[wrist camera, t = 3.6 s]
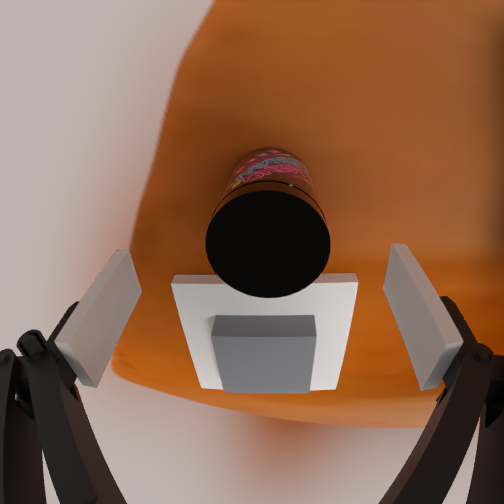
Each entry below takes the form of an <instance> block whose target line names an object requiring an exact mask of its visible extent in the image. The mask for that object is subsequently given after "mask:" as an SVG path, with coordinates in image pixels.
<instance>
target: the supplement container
mask: <svg viewBox="0 0 504 504" xmlns="http://www.w3.org/2000/svg"><path fill="white" fill-rule="evenodd" d="M206 252H207V257H208V260H209V262H210V264H211V266H212V268H213V270H214V271H215V273H216V274H217V275H218V276H219V277H220V279H221V280H223V281H224V282H225V283H226V284H227V285H229V286H230V287H232V288H233V289H235V290H237V291H239V292H241V293H244V294H246V295H249V296H254V297H259V298H279V297H285V296H289V295H292V294H294V293H297V292H299V291H301V290H303V289H305V288H306V287H308V286H309V285H310V284H312V283H313V282H314V281H315V280H316V279H317V278H318V277H319V275H320V274H321V273H322V271H323V270H324V268H325V266H326V264H327V261H328V258H329V254H330V236H329V232H328V228H327V224H326V220H325V217H324V214H323V212H322V210H321V208H320V204H319V201H318V198H317V195H316V192H315V189H314V186H313V183H312V180H311V177H310V174H309V171H308V169H307V168H306V166H305V165H304V163H303V162H302V161H301V160H300V159H299V158H298V157H296V156H295V155H293V154H292V153H290V152H288V151H285V150H282V149H277V148H264V149H259V150H256V151H254V152H251V153H250V154H248V155H247V156H245V157H244V158H243V159H242V160H241V161H240V162H239V163H238V164H237V166H236V167H235V169H234V171H233V173H232V175H231V178H230V180H229V182H228V184H227V187H226V189H225V191H224V193H223V196H222V198H221V200H220V203H219V204H218V206H217V207H216V209H215V211H214V214H213V216H212V220H211V222H210V224H209V227H208V230H207V234H206Z"/></svg>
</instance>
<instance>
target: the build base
mask: <svg viewBox="0 0 504 504" xmlns="http://www.w3.org/2000/svg"><path fill="white" fill-rule="evenodd" d="M171 286H172V290H173V294H174V298H175V302H176V305H177V309H178V313H179V316H180V320H181V323H182V327H183V330H184V334H185V337H186V340H187V344H188V347H189V350H190V354H191V357H192V360H193V363H194V366H195V369H196V373H197V376H198V379H199V382H200V385H201V388H208V389H223V391H224V392H230V393H259V394H296V393H309V391H310V390H330V389H336V386H337V382H338V378H339V374H340V370H341V366H342V362H343V357H344V353H345V349H346V344H347V340H348V335H349V330H350V325H351V320H352V315H353V310H354V305H355V299H356V293H357V288H358V279H357V276H356V273H328V274H320V275H319V277H318V278H317V279H316V280H315V281H314V282H313V283H312V284H310V285H309V286H308V287H306V288H305V289H303V290H301V291H299V292H297V293H294V294H292V295H289V296H285V297H279V298H259V297H254V296H249V295H246V294H244V293H241V292H239V291H237V290H235V289H233V288H232V287H230V286H229V285H227V284H226V283H225V282H224V281H223V280H221V279H220V277H219V276H218V275H174V278H173V280H172V282H171Z"/></svg>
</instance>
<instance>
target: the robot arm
mask: <svg viewBox="0 0 504 504" xmlns="http://www.w3.org/2000/svg"><path fill="white" fill-rule="evenodd" d="M383 291H384V293H385V295H386V298H387V300H388V302H389V305H390V307H391V310H392V312H393V315H394V317H395V320H396V322H397V325H398V327H399V330H400V332H401V335H402V338H403V340H404V343H405V345H406V348H407V351H408V354H409V356H410V359H411V362H412V365H413V368H414V371H415V374H416V376H417V379H418V382H419V385H420V389H421V391H422V390H427V389H433V388H437V387H438V385H439V384H440V382H441V381H442V379H443V381H444V383H445V388H444V389H443V391H442V392H441V394H440V395H439V397H438V398H437V400H436V401H437V404H436V406H435V409H434V411H433V413H432V415H431V417H430V419H429V421H428V423H427V425H426V427H425V429H424V431H423V433H422V435H421V437H420V438H419V440H418V442H417V444H416V446H415V447H414V449H413V451H412V453H411V455H410V456H409V458H408V459H407V461H406V463H405V465H404V466H403V468H402V469H401V471H400V473H399V474H398V476H397V477H396V479H395V480H394V482H393V483H392V485H391V486H390V488H389V489H388V491H387V492H386V494H385V495H384V497H383V498H382V499H381V501H380V502H379V504H442V503H443V501H444V499H445V497H446V495H447V493H448V491H449V489H450V487H451V485H452V483H453V481H454V479H455V477H456V475H457V473H458V471H459V469H460V466H461V464H462V462H463V459H464V457H465V455H466V452H467V450H468V447H469V445H470V442H471V440H472V437H473V434H474V432H475V429H476V426H477V423H478V420H479V417H480V427H479V436H478V444H477V451H476V457H475V463H474V469H473V474H472V479H471V485H470V489H469V493H468V498H467V501H466V504H504V356H500V355H494V354H493V352H492V350H491V349H490V348H489V347H487V346H486V345H484V344H480V343H477V341H476V339H475V337H474V335H473V333H472V332H471V330H470V328H469V326H468V324H467V323H466V321H465V320H464V318H463V316H462V314H461V313H460V311H459V309H458V307H457V306H456V304H455V303H454V302H453V301H452V300H451V299H450V298H448V297H447V296H442V297H439V296H438V294H437V292H436V291H435V289H434V287H433V286H432V284H431V282H430V281H429V279H428V278H427V276H426V274H425V273H424V271H423V270H422V268H421V266H420V265H419V263H418V262H417V260H416V259H415V257H414V256H413V254H412V253H411V251H410V250H409V248H408V247H407V245H406V244H405V243H400V244H392V245H391V250H390V255H389V261H388V266H387V271H386V275H385V280H384V285H383ZM141 294H142V290H141V287H140V284H139V281H138V277H137V274H136V271H135V268H134V264H133V261H132V257H131V254H130V250H117V251H116V252H115V253H114V255H113V256H112V258H111V259H110V260H109V261H108V263H107V264H106V265H105V267H104V268H103V270H102V271H101V272H100V274H99V275H98V277H97V278H96V279H95V281H94V282H93V284H92V285H91V286H90V288H89V289H88V291H87V292H86V293H85V295H84V296H83V298H82V299H81V301H80V302H75V303H74V304H73V305H72V306H71V307H69V308H68V310H67V311H66V313H65V314H64V316H63V317H62V319H61V320H60V322H59V324H58V325H57V326H56V328H55V329H54V331H53V332H52V334H51V335H50V337H49V339H48V340H47V342H46V340H45V338H44V337H43V335H42V333H41V332H40V331H39V330H30V331H27V332H26V333H24V334H23V335H22V336H21V337H20V338H19V340H18V342H17V348H18V349H19V350H20V352H21V354H22V355H23V356H18V357H17V356H16V355H15V353H14V352H13V350H11V349H4V350H2V351H0V504H47V503H46V495H45V487H44V475H43V461H42V449H43V453H44V457H45V460H46V464H47V467H48V470H49V473H50V477H51V480H52V483H53V485H54V488H55V491H56V494H57V496H58V499H59V502H60V504H127V503H126V501H125V499H124V497H123V495H122V493H121V492H120V490H119V488H118V486H117V484H116V482H115V480H114V478H113V476H112V474H111V472H110V470H109V467H108V465H107V463H106V461H105V459H104V457H103V454H102V452H101V450H100V447H99V445H98V443H97V440H96V438H95V435H94V433H93V430H92V428H91V425H90V423H89V420H88V417H87V415H86V412H85V409H84V407H83V403H82V401H81V397H80V394H79V391H78V388H77V386H76V385H75V383H74V382H75V380H76V378H77V377H78V379H79V380H80V382H81V383H82V384H83V385H85V386H90V387H95V388H97V387H98V384H99V382H100V380H101V377H102V375H103V373H104V371H105V368H106V366H107V364H108V362H109V360H110V357H111V355H112V353H113V351H114V349H115V347H116V345H117V342H118V340H119V338H120V336H121V334H122V332H123V330H124V328H125V326H126V324H127V322H128V320H129V318H130V316H131V314H132V311H133V309H134V308H135V306H136V304H137V302H138V300H139V298H140V296H141ZM15 394H16V395H17V397H16V399H15ZM480 414H481V415H480Z"/></svg>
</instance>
